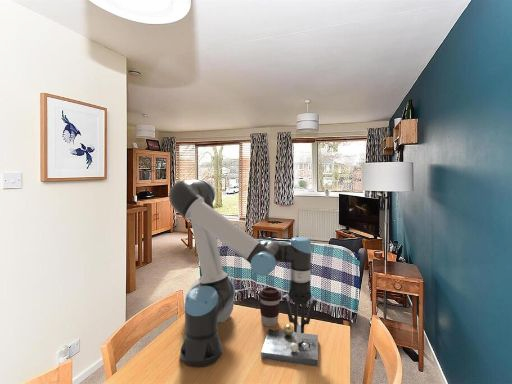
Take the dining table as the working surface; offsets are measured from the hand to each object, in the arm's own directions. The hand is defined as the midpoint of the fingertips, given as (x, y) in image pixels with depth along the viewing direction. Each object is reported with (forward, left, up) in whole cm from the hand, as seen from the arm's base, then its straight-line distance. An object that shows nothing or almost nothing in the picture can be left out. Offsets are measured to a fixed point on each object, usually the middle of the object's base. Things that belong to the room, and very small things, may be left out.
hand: (298, 340), depth 111 cm
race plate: (-3, 0, -4) cm, 5 cm away
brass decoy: (-4, +6, 0) cm, 7 cm away
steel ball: (+2, 0, -2) cm, 3 cm away
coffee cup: (-14, +18, -4) cm, 23 cm away
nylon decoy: (-1, -5, 0) cm, 5 cm away
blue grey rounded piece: (-41, +16, -4) cm, 44 cm away
